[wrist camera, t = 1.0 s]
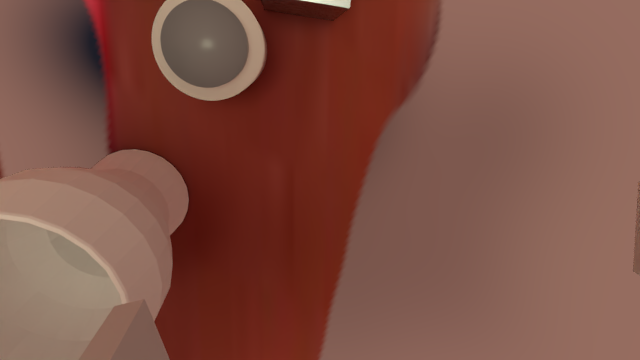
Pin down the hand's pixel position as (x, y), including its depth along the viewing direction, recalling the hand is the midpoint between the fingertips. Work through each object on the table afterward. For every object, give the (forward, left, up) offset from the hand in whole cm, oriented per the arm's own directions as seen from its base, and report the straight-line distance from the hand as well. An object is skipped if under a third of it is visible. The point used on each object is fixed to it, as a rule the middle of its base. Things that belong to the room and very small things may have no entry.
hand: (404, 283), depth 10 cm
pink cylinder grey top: (-8, +5, -21) cm, 23 cm away
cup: (-14, -7, -21) cm, 26 cm away
